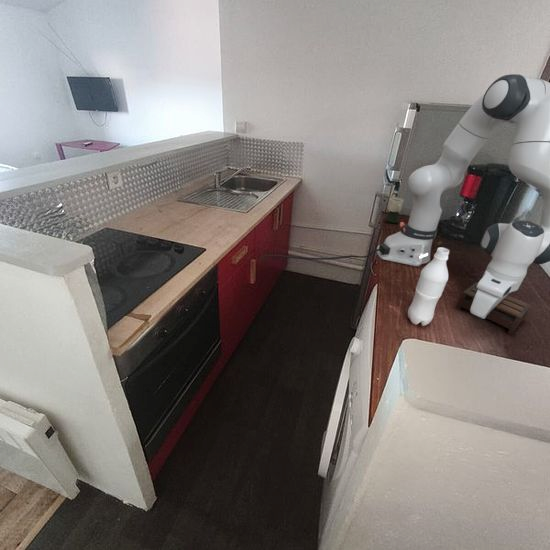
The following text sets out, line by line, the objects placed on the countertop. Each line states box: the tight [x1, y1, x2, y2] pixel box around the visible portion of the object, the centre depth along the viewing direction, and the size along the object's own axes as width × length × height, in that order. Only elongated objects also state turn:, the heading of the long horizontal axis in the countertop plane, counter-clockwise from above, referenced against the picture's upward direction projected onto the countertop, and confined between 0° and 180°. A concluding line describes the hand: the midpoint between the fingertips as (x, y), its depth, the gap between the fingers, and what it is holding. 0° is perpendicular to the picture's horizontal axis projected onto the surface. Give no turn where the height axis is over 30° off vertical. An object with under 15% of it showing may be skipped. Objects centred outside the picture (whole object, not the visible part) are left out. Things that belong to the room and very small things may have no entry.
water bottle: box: [407, 247, 450, 327], centre depth 86 cm, size 7×7×25 cm
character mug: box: [385, 196, 405, 224], centre depth 161 cm, size 11×7×13 cm, turn 2°
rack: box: [456, 282, 533, 335], centre depth 94 cm, size 10×16×7 cm, turn 38°
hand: (482, 316), depth 91 cm, fingers closed
